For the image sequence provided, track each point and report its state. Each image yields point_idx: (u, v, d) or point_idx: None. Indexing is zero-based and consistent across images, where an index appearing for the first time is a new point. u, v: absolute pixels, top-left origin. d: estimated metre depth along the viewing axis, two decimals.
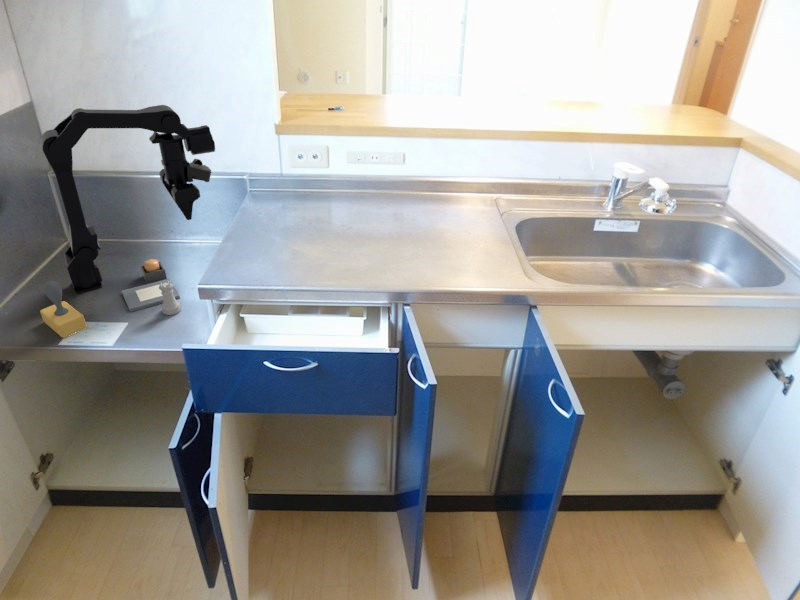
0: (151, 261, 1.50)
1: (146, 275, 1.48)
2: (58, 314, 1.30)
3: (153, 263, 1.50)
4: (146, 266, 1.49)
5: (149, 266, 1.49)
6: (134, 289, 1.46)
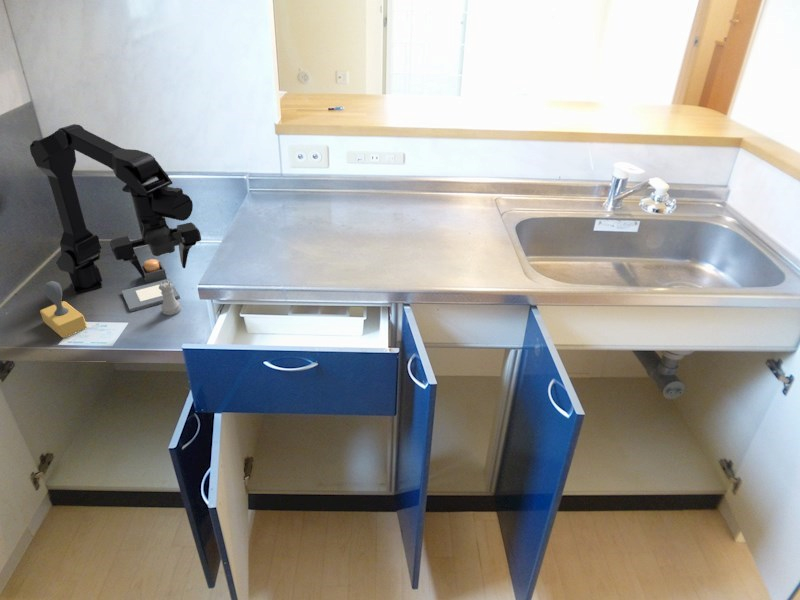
0: (151, 261, 1.50)
1: (146, 275, 1.48)
2: (58, 314, 1.30)
3: (153, 263, 1.50)
4: (146, 266, 1.49)
5: (149, 266, 1.49)
6: (134, 289, 1.46)
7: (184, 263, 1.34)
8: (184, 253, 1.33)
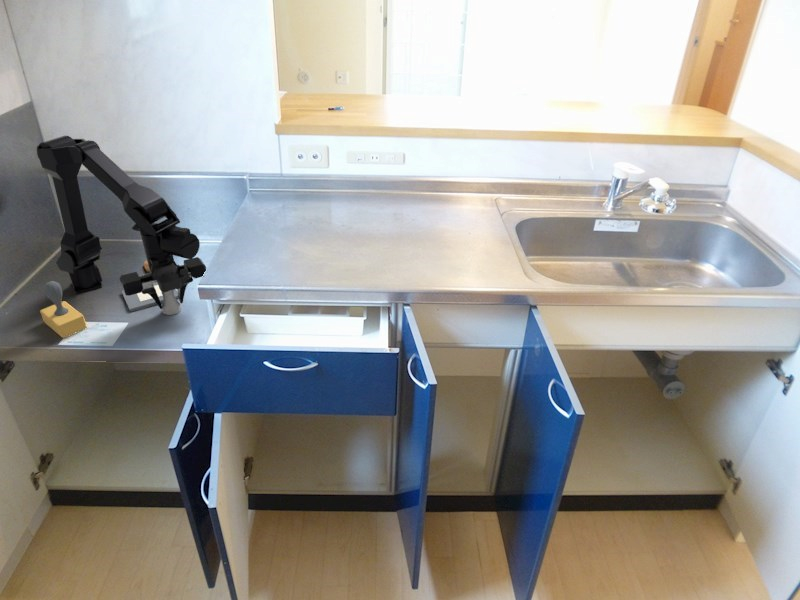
0: None
1: None
2: (58, 314, 1.30)
3: None
4: (146, 266, 1.49)
5: None
6: None
7: (181, 299, 1.38)
8: (181, 289, 1.37)
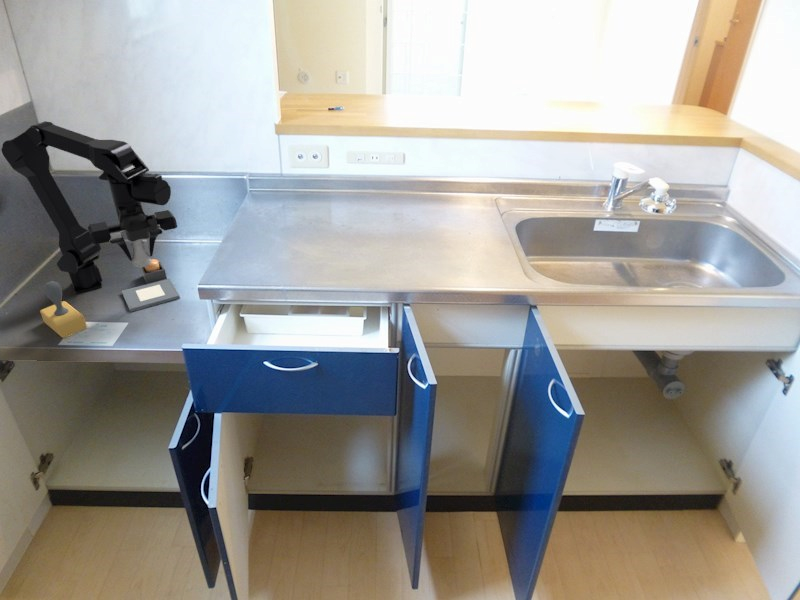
0: (151, 261, 1.50)
1: (146, 275, 1.48)
2: (58, 314, 1.30)
3: (153, 263, 1.50)
4: (146, 266, 1.49)
5: (149, 266, 1.49)
6: (134, 289, 1.46)
7: (151, 251, 1.38)
8: (150, 241, 1.37)
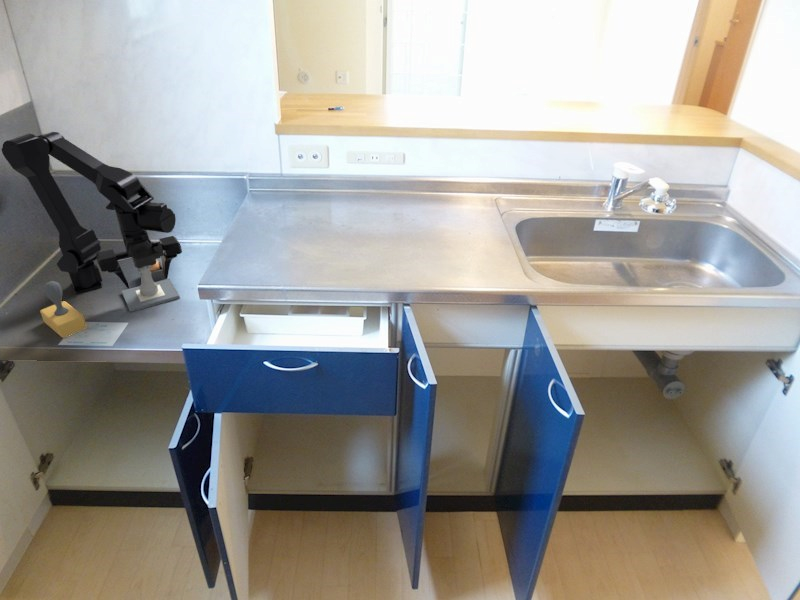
0: None
1: None
2: (58, 314, 1.30)
3: None
4: None
5: None
6: (134, 289, 1.46)
7: (166, 274, 1.44)
8: (165, 264, 1.42)
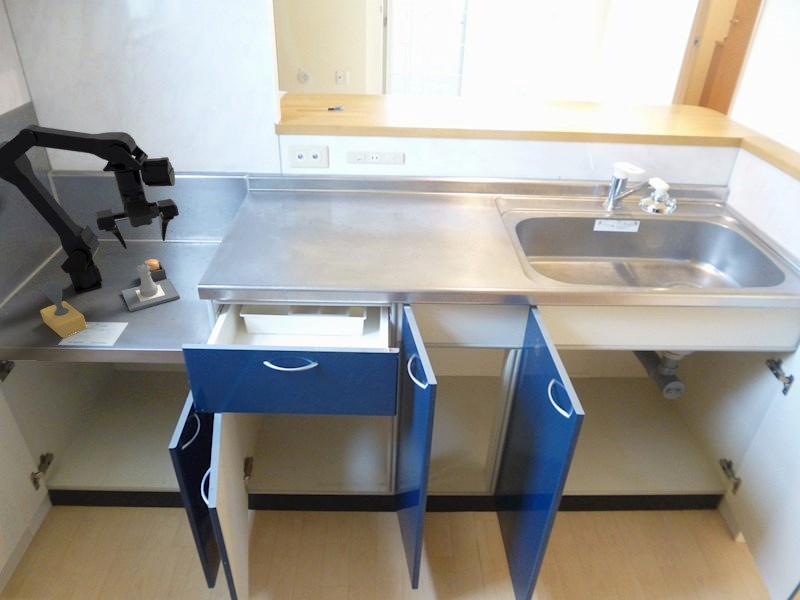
0: (151, 261, 1.50)
1: None
2: (58, 314, 1.30)
3: (153, 263, 1.50)
4: None
5: None
6: (134, 289, 1.46)
7: (163, 236, 1.46)
8: (163, 226, 1.44)
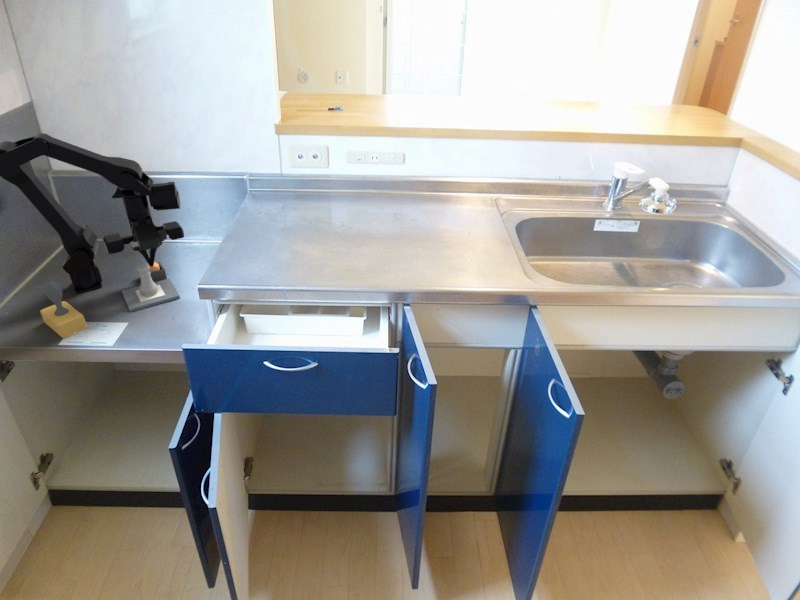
0: None
1: None
2: (58, 314, 1.30)
3: (154, 266, 1.50)
4: None
5: (150, 269, 1.49)
6: (134, 289, 1.46)
7: (152, 261, 1.49)
8: (151, 252, 1.48)
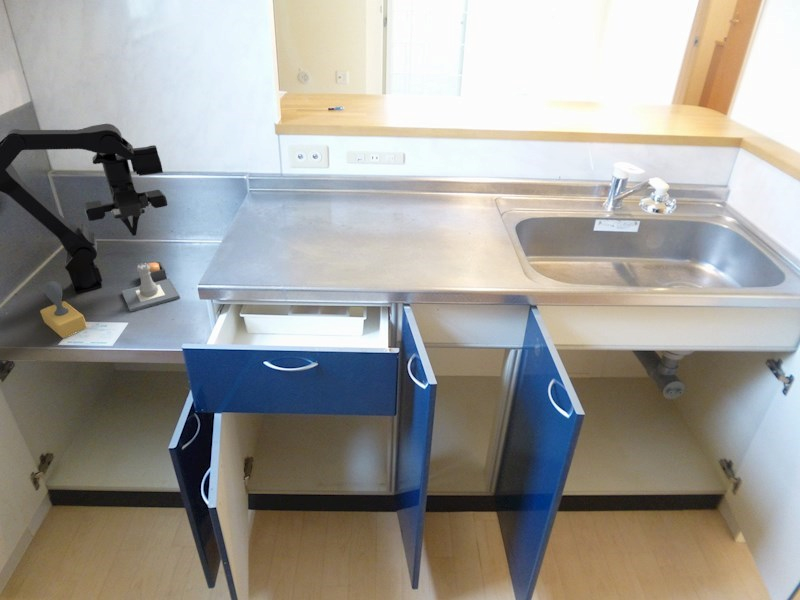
0: (152, 264, 1.51)
1: None
2: (58, 314, 1.30)
3: (154, 266, 1.50)
4: None
5: (150, 269, 1.49)
6: (134, 289, 1.46)
7: (135, 230, 1.46)
8: (134, 220, 1.44)
